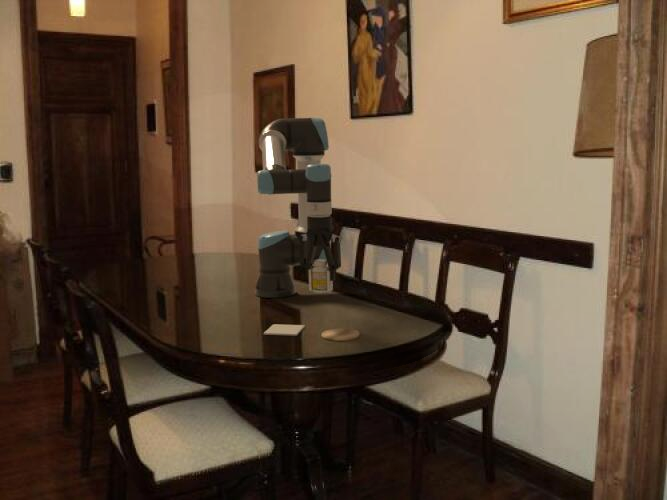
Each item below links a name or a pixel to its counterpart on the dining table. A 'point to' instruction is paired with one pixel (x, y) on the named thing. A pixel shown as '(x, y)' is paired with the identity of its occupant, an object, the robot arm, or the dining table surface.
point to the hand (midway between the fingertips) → (320, 290)
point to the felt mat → (284, 330)
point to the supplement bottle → (320, 276)
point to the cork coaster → (340, 334)
